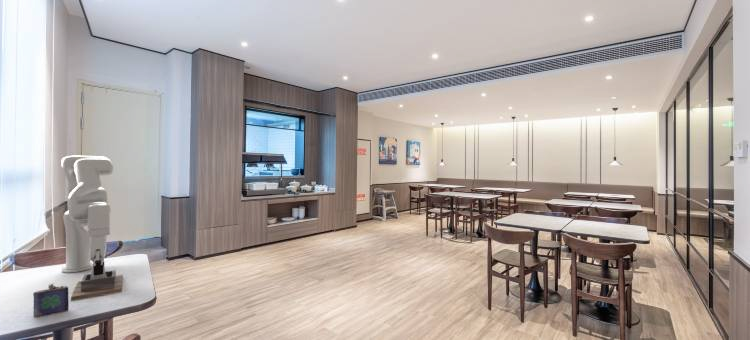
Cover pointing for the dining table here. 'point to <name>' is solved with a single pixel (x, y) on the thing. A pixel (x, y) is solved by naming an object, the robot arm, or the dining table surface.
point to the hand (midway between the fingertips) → (99, 272)
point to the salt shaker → (97, 275)
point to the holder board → (97, 286)
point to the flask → (50, 301)
